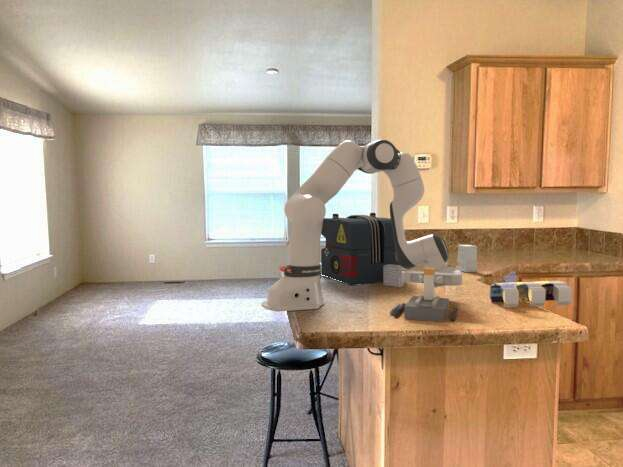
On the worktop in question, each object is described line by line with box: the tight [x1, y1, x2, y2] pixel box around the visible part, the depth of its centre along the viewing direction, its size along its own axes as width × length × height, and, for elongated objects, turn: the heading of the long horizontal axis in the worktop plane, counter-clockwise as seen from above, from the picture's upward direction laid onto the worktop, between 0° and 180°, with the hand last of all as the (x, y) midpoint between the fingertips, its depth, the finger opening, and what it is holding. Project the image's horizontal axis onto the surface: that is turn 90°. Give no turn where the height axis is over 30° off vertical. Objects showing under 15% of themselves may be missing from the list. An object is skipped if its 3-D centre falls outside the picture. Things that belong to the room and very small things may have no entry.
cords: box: [389, 302, 459, 321], centre depth 159 cm, size 16×21×1 cm
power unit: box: [320, 212, 399, 286], centre depth 226 cm, size 28×28×30 cm
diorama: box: [489, 270, 573, 308], centre depth 173 cm, size 25×10×13 cm, turn 99°
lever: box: [423, 267, 435, 300], centre depth 161 cm, size 3×3×10 cm
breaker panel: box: [403, 294, 450, 323], centre depth 159 cm, size 16×12×5 cm
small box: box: [457, 244, 478, 273], centre depth 245 cm, size 8×6×13 cm
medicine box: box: [382, 264, 405, 288], centre depth 208 cm, size 8×4×9 cm, turn 47°
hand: (428, 280), depth 161 cm, fingers closed on lever, 3 cm apart
